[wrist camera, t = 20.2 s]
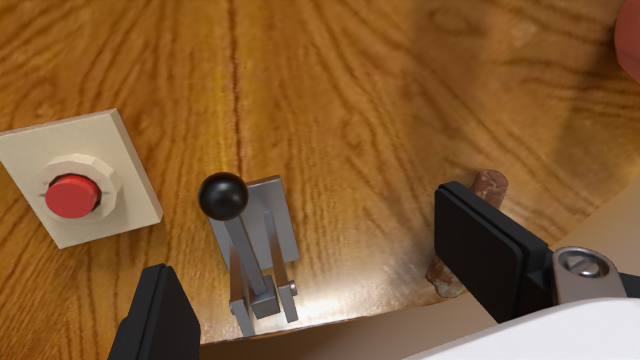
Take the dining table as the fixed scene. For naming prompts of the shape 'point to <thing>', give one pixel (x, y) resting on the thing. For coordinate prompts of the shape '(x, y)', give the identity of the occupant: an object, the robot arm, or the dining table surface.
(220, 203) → the lever
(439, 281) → the salami
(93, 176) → the button block
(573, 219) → the dining table surface
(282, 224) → the bracket
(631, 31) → the cell model
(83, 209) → the button
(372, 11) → the dining table surface
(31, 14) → the dining table surface
